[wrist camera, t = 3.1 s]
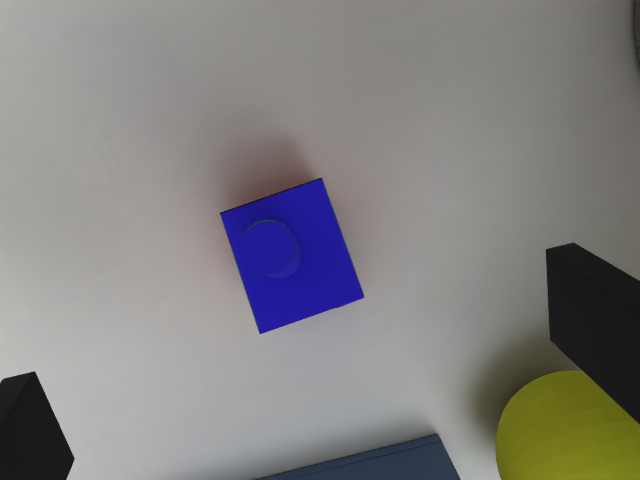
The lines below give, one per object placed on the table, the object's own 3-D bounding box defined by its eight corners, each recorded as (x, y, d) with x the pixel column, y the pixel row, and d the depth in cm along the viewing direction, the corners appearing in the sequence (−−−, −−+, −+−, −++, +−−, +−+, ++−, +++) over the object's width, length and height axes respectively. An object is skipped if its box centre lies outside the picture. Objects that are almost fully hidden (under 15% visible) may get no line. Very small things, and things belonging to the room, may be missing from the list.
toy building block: (324, 205, 23) (319, 154, 15) (358, 299, 22) (370, 298, 14) (245, 232, 23) (198, 196, 15) (277, 327, 22) (245, 342, 14)
